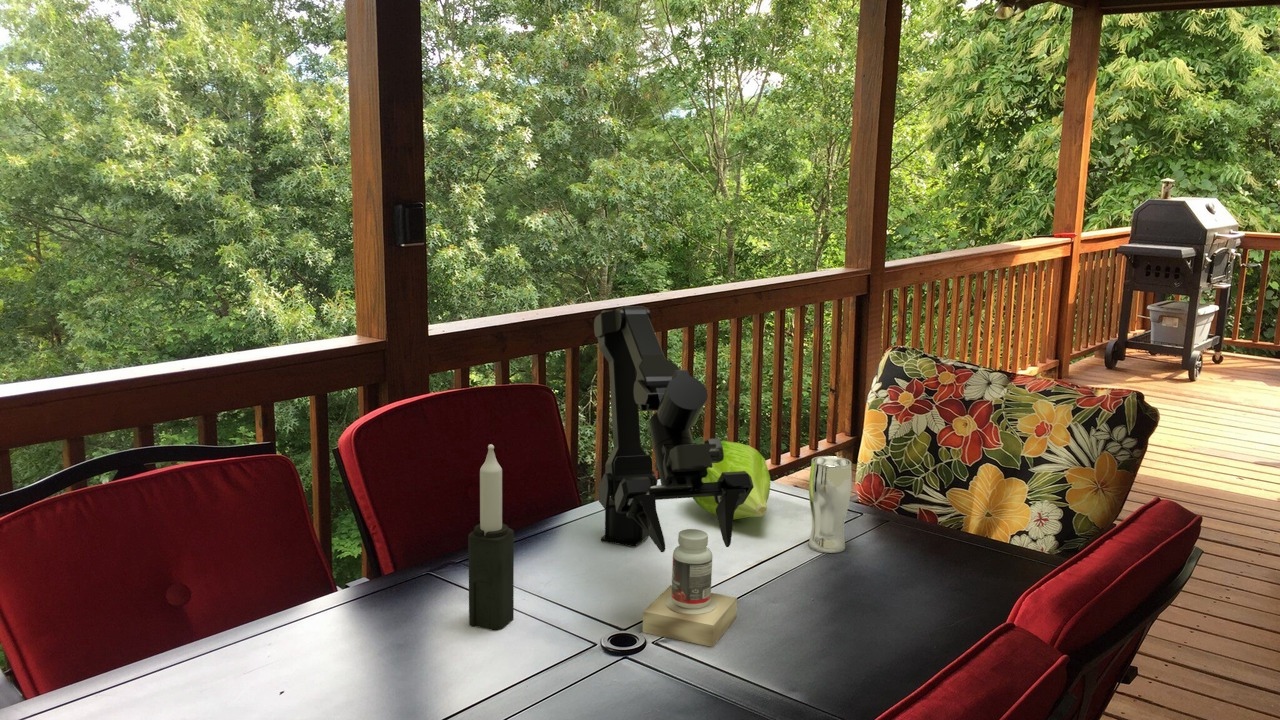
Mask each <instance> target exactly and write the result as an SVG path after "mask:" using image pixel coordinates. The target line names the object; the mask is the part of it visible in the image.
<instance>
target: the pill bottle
mask: <svg viewBox="0 0 1280 720" xmlns="http://www.w3.org/2000/svg"><path fill="white" fill-rule="evenodd" d="M677 537H678V539H677V542H678V545H677V546H676V547H675V548H674V549H673V551H672V571H671V573H672V574H671V585H672V601H673V603H675V604H676V605H678V606H680V607H683V608H689V609H697V608H702V607H705V606H707V605H708V604H709V603H710V596H711V593H712V573H713V552H712V550H711V549H710V548H709V547H707V546H708V543H709V535H708V533H707V532H706V531H704V530H702V529H696V528H686V529H682V530H680V531H679V532H678V536H677Z"/></svg>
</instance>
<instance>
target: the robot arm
mask: <svg viewBox="0 0 1280 720" xmlns="http://www.w3.org/2000/svg"><path fill="white" fill-rule="evenodd" d="M593 330H594V336H595V338H597V343H598V344H597V345H598V349H599V351H600V352H601V354H602V355H603V357H604V358H605V359H606V360H605V361H606V362H608V371H609V386H610V387H609V388H610V401H611V402H610V404H611V405H610V407H611V422H612V437H613V438H612V439H613V440H612V441H613V449H612V451H611V453H610V455H609V456H608V459H607V460H606V462H605V465H604V466H605V472H604V473H603V476H602V478H601V481H600V484H599V487H598V490H597V493H598V494H597V495H598V502H599V504H600V505H601V506H602V507H603V509H604V515H605V516H604V535H602V536H601V537H600V542H604V543H609V544H610V543H611V544H616V545H622V546H627V547H637V546H638V545H639V544H640V543H642V542H643V541H644V540H646V539H647V538H648V537H649V538H650V539H651V541H652V542H653V544H654V545H655V546H656V547H657V549H658V550H659V551H660V553H664V552H665V551H666V543H665V536H664V534H663V530H662V526H661V523H660V522H661V521H660V519H659V516H658V511H657V503H656V501H659V500H673V499H675V500H676V499H690V498H691V499H693V497H708V496H714V498H715V502H716V503H717V504H718V506H717V508H716V509H715V510H716V514H717V516H716V519H717V522H718V525H719V529H720V535H721V537H722V541H723V543H724V546H725V548H729V547H730V546H731V543H732V534H733V525H734V520H733V517H734V512H735V510H736V509H737V507H738V506H739V505H741V504H743V503H744V502H745V500H746V498H747V497H748V495H749V494H750V492H751V490H752V489H753V487H754V486H753V482H752V479H751V476H750V475H749V474H748V473H747V472H745V471H737V472H722V474H721V476H720V478H719V479H718V481H717V482H708V483H703V482H702V478H705V477H706V476H707V474H708V472H707V468H712V467H713V466H712V463H719V462H721V461H723V459H724V453H723V447H722V443H721V441H722V440H721V438H720V437H719V438H715V437H714V438H707V440H706V439H705V440H704V443H697V442H694V440H693V436H692V435H693V434H692V432H691V428H692V427H694V426H696V423H697V421H698V419H699V417H700V415H701V413H702V411H703V409H704V407H705V404H706V403H707V400H708V389H707V387H705V385H704V384H703V383H702V382H701V381H700V380H699V379H697V378H695V377H693V376H691V375H690V374H689V373H690V371H689V370H688V369H680V368H679V366H678V365H677V364H676V363H674V362H673V361H671V360H668V359H667V358H666V356H665V353H664V351H663V349H662V347H661V344H660V341H659V339H658V336H657V334H656V331H655V329H654V327H653V325H652V321H651V311H650V309H649V308H648V307H645V306H644V305H643V306H640V305H639V306H638V305H636V306H635V305H634V306H633V305H630V306H621V307H618V308H616V309H614V310H612V309H610V310H605V309H603V310H601V312H600V313H599V314H598V315H596V316H595V317H594V321H593ZM639 410H640V411H642V412H654V413H653V414H652V416H651V417H650V419H649V420H648V427H649V430H648V436H650V437H651V442H652V447H653V451H654V456H655V460H656V461H655V463H654V467H655V471H656V472H657V471H658V476H659V480H660V485H658V482H659V481H658V479H657V478H656V474H655V471H654V470H653V459H652V457H651V456H650V454H647V453H646V451H645V450H644V449H643V446H642V444H641V443H642V442H641V441H642V440H641V428H640V427H641V426H640V425H641V424H640V411H639Z"/></svg>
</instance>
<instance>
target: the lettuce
mask: <svg viewBox="0 0 1280 720" xmlns="http://www.w3.org/2000/svg"><path fill="white" fill-rule="evenodd" d="M721 443H722V447H723V453H724V459H723V461H721V462H719V463H712V466H713V467H712V468H707V472H708V474H707V476H706V477H705V478H702V482H703V483H708V482H717V481H718V479H719V478H720V476H721V474H722V472H737V471H745V472H747V473H748V474H749V475H750V476H751V479H752V482H753V486H754V487H753V489H752V490H751V492H750V494H749V495H748V497H747V498H746V500H745V502H744V503H743V504H741V505H739V506H738V507H737V509H736V510H735V512H734V517H733V521H734V520H740V519H745V518H749V517H751V518H752V517H753V518H756V517H757V518H759V517H763V516H764V515H765V514H766V513H767V509H768V504H767V502H768V500H769V496H770V490H771V476H770V472H769V469H768V465H767V462H766V458H765V457H764V456H763V455H762V454H761V453H760V451H759V450H757V449H756V448H754V447H752V446H750V445H747V444H744V443H740V442H735V441H734V442H732V441H728V440H721ZM692 500H694V502H695V503H696V504H697V505H698V506H699V507H700V508H702V509H704V510H705V511H706V512H708V513H710V514H711V515H713V516H715V517H717V514H716V510H715V509H716V508H717V506H718V504H717V503H716V502H715V498H714V496H708V497H693V498H692Z"/></svg>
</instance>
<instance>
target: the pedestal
mask: <svg viewBox="0 0 1280 720" xmlns="http://www.w3.org/2000/svg"><path fill="white" fill-rule="evenodd" d="M737 605H738V597H736V596H730V595H724V594H720V593H714V592H711V596H710V603H709V604H708V605H707V606H705V607H702V608H697V609H689V608H683V607H680V606H678V605H676V604H675V603H673V601H672V584H670V585H669V586H668V587H667V588H666V589H665V590H664V591H663V592H661V594H659V595H658V596H657V597H656V598H655V599H654V600H653V601H652V602H651V603H650V604H649V605H648V606H647V607H646V608H645V609H644V610H643V611H642V633H644V634H650V635H652V636H653V635H655V636H659V637H664V638H669V639H673V640H678V641H682V642H687V643H692V644H697V645H701V646H707V647H709V648H710V647H712V648H713V647H714V646H715V644H717V642H718V641H719V640H720V639H721V638H722V636H723V635H724V634H725V632H727V630H728V629H729V628H730V626H731V625H732V624H733V622H734V621H735V620H736V619H737V607H738V606H737Z"/></svg>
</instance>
